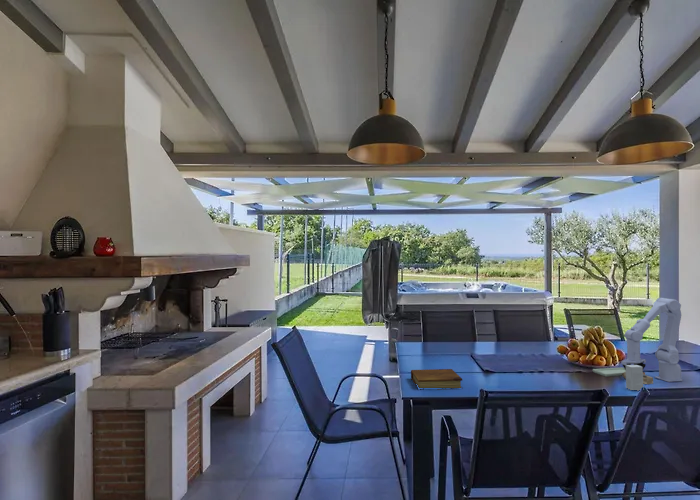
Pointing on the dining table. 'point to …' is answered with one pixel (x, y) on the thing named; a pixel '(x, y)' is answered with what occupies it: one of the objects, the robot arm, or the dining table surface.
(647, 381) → the tan rectangular frame
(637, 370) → the skincare box
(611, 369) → the tray
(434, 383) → the diary
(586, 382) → the dining table surface
